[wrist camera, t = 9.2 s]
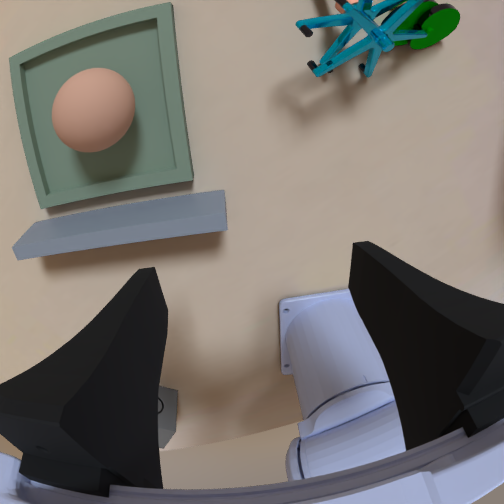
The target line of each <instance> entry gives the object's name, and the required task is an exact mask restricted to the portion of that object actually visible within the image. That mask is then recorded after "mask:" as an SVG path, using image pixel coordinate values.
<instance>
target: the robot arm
mask: <svg viewBox="0 0 504 504" xmlns="http://www.w3.org/2000/svg"><path fill="white" fill-rule="evenodd" d="M348 288H349V289H345V290H338V291H332V292H326V293H319V294H313V295H306V296H299V297H292V298H285V299H282V300H281V301H280V302H279V318H280V348H281V372H282V374H283V375H289V374H293V377H294V381H295V386H296V390H297V394H298V398H299V403H300V407H301V411H302V416H303V420H304V421H302V422H299V423H298V428H299V433H300V437H297V438H295V439H293V440H292V442H291V443H290V446H289V449H288V451H287V454H286V472H287V478H288V482H282V483H275V484H268V485H259V486H250V487H239V488H224V489H194V490H193V489H191V490H184V489H183V490H182V489H163V484H162V476H161V467H160V456H159V440H158V392H159V382H160V376H161V369H162V363H163V357H164V351H165V345H166V338H167V327H168V308H167V305H166V302H165V299H164V296H163V293H162V290H161V286H160V283H159V280H158V276H157V273H156V270H155V267H152V268H143V269H139V270H138V271H137V272H136V273H135V274H134V275H133V276H132V277H131V278H130V279H129V280H128V281H127V283H126V284H125V285H124V286H123V287H122V288H121V289H120V291H119V292H118V293H117V294H116V295H115V296H114V297H113V298H112V300H111V301H110V302H109V303H108V304H107V305H106V306H105V307H104V308H103V309H102V310H101V311H100V312H99V313H98V314H97V316H96V317H95V318H94V319H93V320H92V321H91V322H90V323H89V324H88V325H87V326H86V327H84V328H83V329H82V330H81V331H80V332H79V333H78V334H77V335H76V336H74V337H73V338H72V339H71V340H70V341H68V342H67V343H66V344H64V345H63V346H62V347H61V348H59V349H58V350H57V351H55V352H54V353H53V354H51V355H50V356H49V357H47V358H46V359H44V360H43V361H41V362H40V363H38V364H36V365H35V366H33V367H32V368H30V369H28V370H27V371H25V372H23V373H21V374H19V375H17V376H15V377H14V378H12V379H10V380H8V381H6V382H4V383H2V384H0V434H1V435H2V436H4V437H5V438H6V439H7V440H8V441H9V442H10V443H12V444H13V445H14V446H16V447H17V448H18V449H19V450H20V451H22V452H23V456H22V460H20V459H18V458H16V457H14V456H11V455H8V454H5V453H2V452H0V504H471V503H472V502H474V501H476V500H478V499H479V498H481V497H482V496H484V495H486V494H487V493H489V492H490V491H492V490H493V489H495V488H496V487H498V486H499V485H501V484H502V483H503V482H504V304H502V303H498V302H494V301H490V300H487V299H484V298H480V297H478V296H475V295H472V294H469V293H466V292H464V291H461V290H459V289H456V288H454V287H452V286H450V285H447V284H445V283H443V282H441V281H439V280H437V279H435V278H433V277H431V276H429V275H427V274H425V273H423V272H421V271H420V270H418V269H416V268H414V267H413V266H411V265H409V264H407V263H406V262H404V261H402V260H401V259H399V258H397V257H396V256H394V255H392V254H391V253H389V252H387V251H386V250H384V249H382V248H381V247H379V246H377V245H375V244H373V243H371V242H369V241H364V242H356V243H353V249H352V259H351V268H350V277H349V286H348ZM284 309H287V310H284Z"/></svg>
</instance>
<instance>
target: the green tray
mask: <svg viewBox="0 0 504 504" xmlns="http://www.w3.org/2000/svg"><path fill="white" fill-rule="evenodd" d="M9 63H10V73H11V81H12V89H13V96H14V102H15V108H16V114H17V119H18V124H19V129H20V134H21V139H22V143H23V148H24V152H25V156H26V160H27V164H28V168H29V171H30V175H31V179H32V182H33V185H34V189H35V192H36V195H37V199H38V202H39V205H40V208H41V209H44V208H48V207H52V206H56V205H61V204H65V203H70V202H74V201H79V200H84V199H88V198H93V197H98V196H103V195H108V194H113V193H119V192H124V191H129V190H135V189H141V188H147V187H153V186H159V185H165V184H171V183H178V182H185V181H192V180H193V177H194V172H193V166H192V159H191V153H190V146H189V139H188V132H187V125H186V117H185V110H184V102H183V94H182V86H181V78H180V69H179V60H178V51H177V42H176V32H175V22H174V11H173V5H172V4H171V2H169V3H163V4H158V5H154V6H149V7H145V8H140V9H136V10H132V11H129V12H125V13H121V14H118V15H114V16H111V17H107V18H104V19H101V20H98V21H95V22H92V23H89V24H86V25H83V26H80V27H77V28H75V29H72V30H69V31H67V32H64V33H62V34H59V35H57V36H54V37H52V38H50V39H47V40H45V41H43V42H41V43H38V44H36V45H34V46H32V47H30V48H28V49H26V50H24V51H22V52H20V53H18V54H16V55H14V56H12V57H10V58H9ZM91 68H106V69H110V70H113V71H115V72H117V73H119V74H120V75H121V76H123V77H124V78H125V79H126V80H127V82H128V83H129V84H130V86H131V88H132V91H133V93H134V97H135V113H134V117H133V121H132V123H131V125H130V127H129V129H128V130H127V132H126V133H125V135H124V136H123V137H122V138H121V139H120V140H119V141H118V142H116V143H115V144H114V145H112V146H110V147H108V148H107V149H104V150H101V151H97V152H80V151H76V150H74V149H72V148H70V147H68V146H67V145H65V144H64V143H63V142H62V141H61V140H60V139H59V137H58V136H57V134H56V132H55V130H54V127H53V123H52V107H53V103H54V100H55V97H56V95H57V93H58V91H59V90H60V88H61V87H62V85H63V84H64V83H65V82H66V81H67V80H68V79H70V78H71V77H72V76H74V75H75V74H77V73H79V72H81V71H83V70H86V69H91Z"/></svg>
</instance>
